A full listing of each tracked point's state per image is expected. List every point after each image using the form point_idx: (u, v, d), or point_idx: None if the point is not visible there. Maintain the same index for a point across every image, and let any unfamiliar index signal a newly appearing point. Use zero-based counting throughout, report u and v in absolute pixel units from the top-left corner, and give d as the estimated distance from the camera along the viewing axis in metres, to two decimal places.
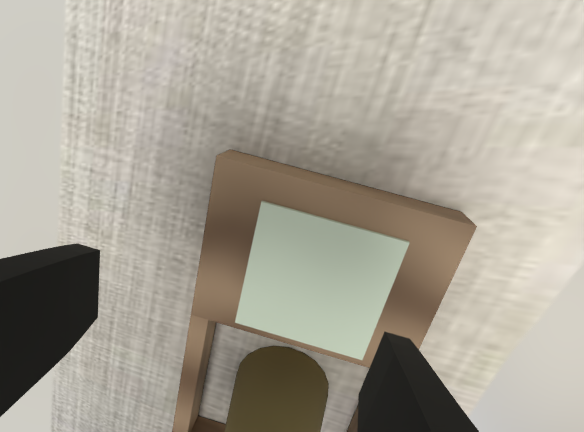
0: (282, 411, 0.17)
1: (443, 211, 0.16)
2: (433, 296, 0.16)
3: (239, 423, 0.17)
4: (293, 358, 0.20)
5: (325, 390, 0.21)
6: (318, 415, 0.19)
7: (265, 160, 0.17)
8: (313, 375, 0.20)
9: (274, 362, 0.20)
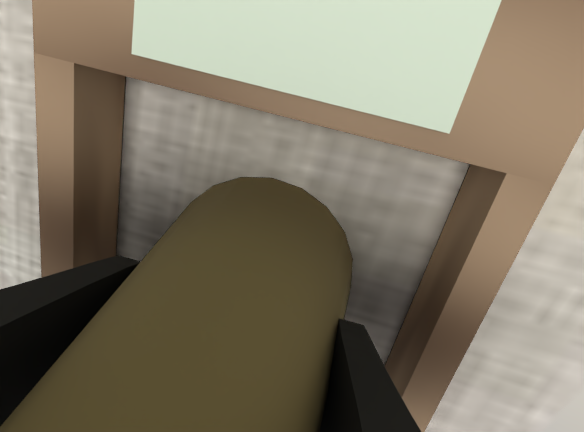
0: (246, 254, 0.07)
1: None
2: None
3: (128, 283, 0.06)
4: (280, 190, 0.10)
5: (348, 263, 0.10)
6: (335, 293, 0.08)
7: None
8: (323, 224, 0.09)
9: (237, 192, 0.09)
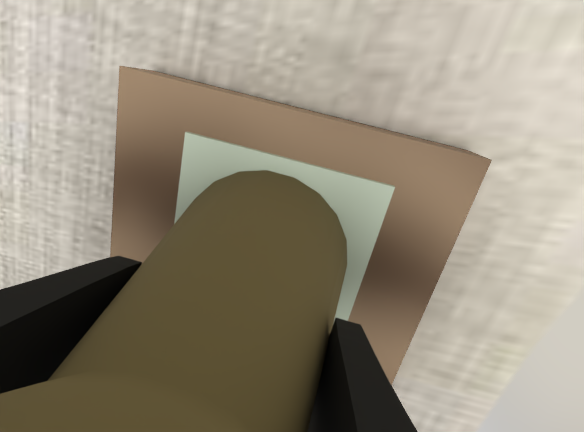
0: (245, 232, 0.08)
1: (443, 145, 0.11)
2: (430, 266, 0.12)
3: (145, 264, 0.07)
4: (274, 180, 0.11)
5: (341, 242, 0.11)
6: (329, 266, 0.09)
7: (198, 82, 0.12)
8: (315, 207, 0.10)
9: (236, 184, 0.10)
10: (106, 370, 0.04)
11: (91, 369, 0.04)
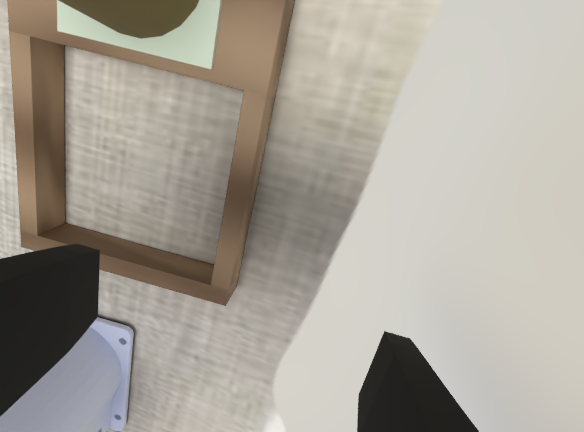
0: None
1: None
2: None
3: None
4: None
5: None
6: None
7: None
8: None
9: None
10: None
11: None
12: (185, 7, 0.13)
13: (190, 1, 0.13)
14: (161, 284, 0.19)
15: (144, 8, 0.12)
